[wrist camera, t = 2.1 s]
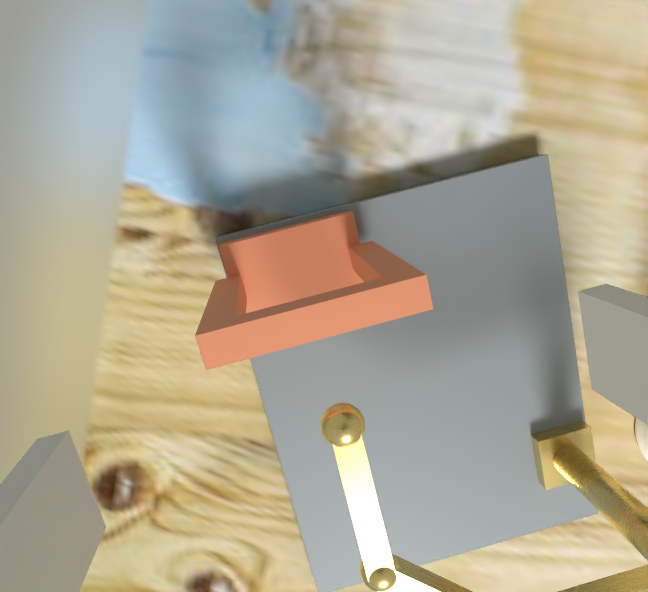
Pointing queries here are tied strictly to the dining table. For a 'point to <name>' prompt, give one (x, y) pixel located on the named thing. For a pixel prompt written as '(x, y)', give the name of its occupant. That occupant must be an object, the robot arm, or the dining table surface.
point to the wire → (553, 471)
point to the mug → (642, 437)
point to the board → (438, 377)
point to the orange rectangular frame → (304, 290)
